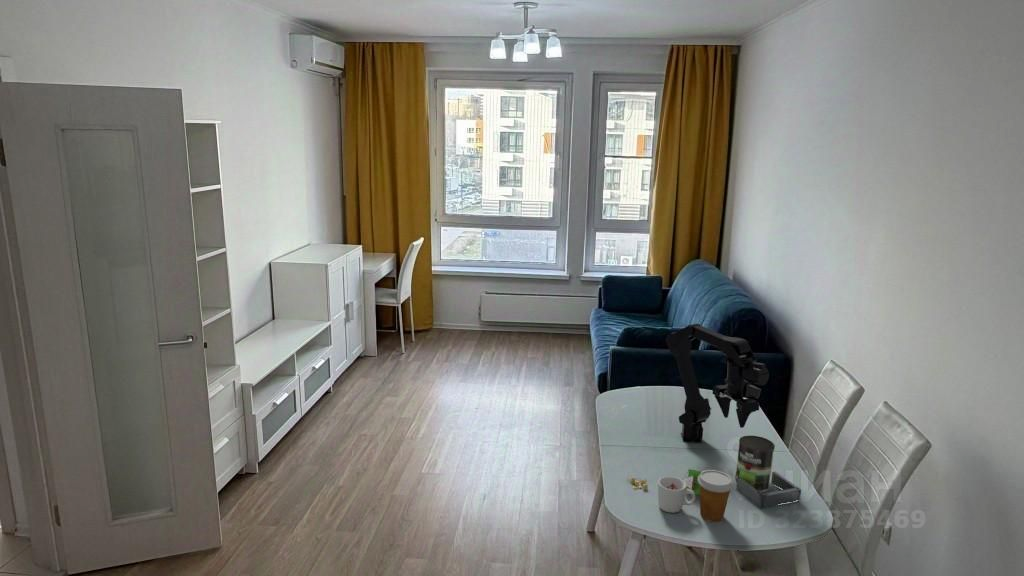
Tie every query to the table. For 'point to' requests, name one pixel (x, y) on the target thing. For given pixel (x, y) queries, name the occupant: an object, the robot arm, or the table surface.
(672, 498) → the cup
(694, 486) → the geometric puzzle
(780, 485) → the grey shallow tray
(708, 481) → the disposable coffee cup
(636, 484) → the dice set
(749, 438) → the coffee can
